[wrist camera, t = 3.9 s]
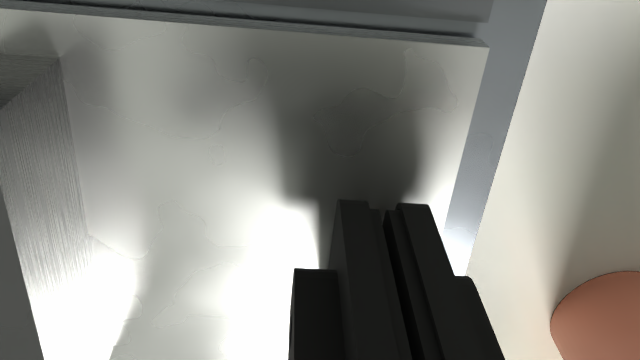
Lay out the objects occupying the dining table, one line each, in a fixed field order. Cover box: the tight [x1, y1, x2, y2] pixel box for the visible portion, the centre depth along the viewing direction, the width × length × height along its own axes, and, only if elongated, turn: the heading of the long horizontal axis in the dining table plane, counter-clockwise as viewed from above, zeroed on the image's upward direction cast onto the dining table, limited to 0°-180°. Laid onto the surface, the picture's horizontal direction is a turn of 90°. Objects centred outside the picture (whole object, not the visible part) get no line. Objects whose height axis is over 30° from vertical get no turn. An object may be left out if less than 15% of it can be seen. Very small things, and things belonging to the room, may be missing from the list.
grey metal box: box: [17, 0, 547, 276], centre depth 14 cm, size 18×14×7 cm
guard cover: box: [0, 0, 490, 360], centre depth 10 cm, size 8×8×3 cm
